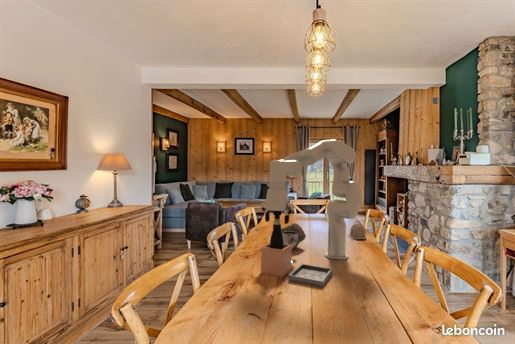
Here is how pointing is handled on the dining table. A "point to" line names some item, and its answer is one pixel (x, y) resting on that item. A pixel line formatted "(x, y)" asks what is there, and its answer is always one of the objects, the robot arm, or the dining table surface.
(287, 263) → the box
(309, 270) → the tray
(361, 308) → the dining table surface
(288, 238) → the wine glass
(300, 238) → the rock
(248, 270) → the dining table surface
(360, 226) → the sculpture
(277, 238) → the wine bottle
